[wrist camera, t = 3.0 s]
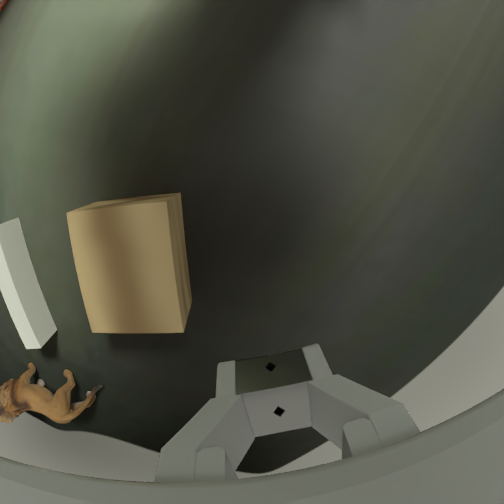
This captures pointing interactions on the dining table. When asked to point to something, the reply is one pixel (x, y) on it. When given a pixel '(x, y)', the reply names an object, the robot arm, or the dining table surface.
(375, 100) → the dining table surface
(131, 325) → the oak block
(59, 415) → the lion figurine
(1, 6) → the stack of blocks
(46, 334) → the fence board
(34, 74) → the dining table surface
